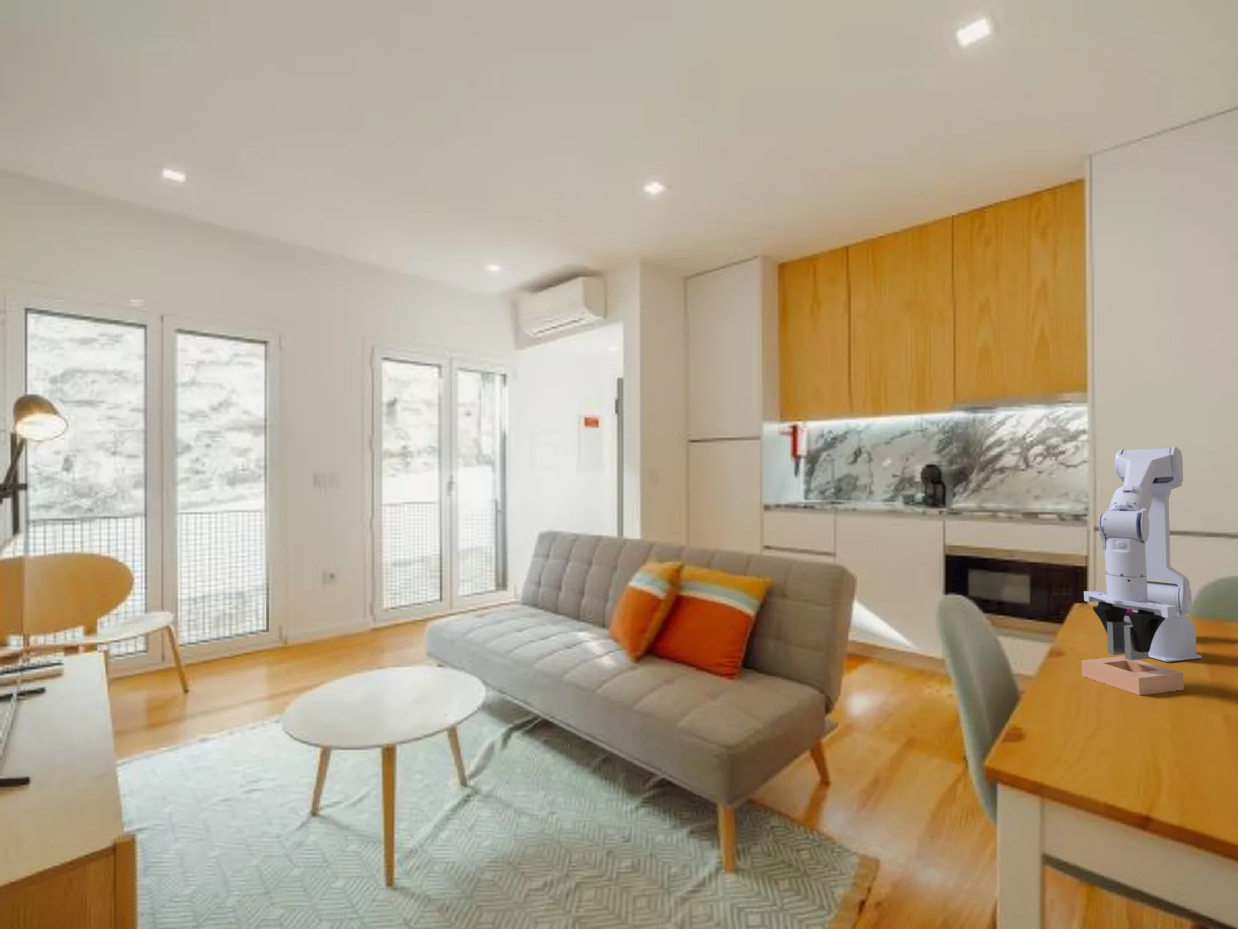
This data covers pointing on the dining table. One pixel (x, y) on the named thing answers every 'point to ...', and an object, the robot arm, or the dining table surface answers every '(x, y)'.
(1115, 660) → the well
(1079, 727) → the dining table surface
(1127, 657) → the bracket
